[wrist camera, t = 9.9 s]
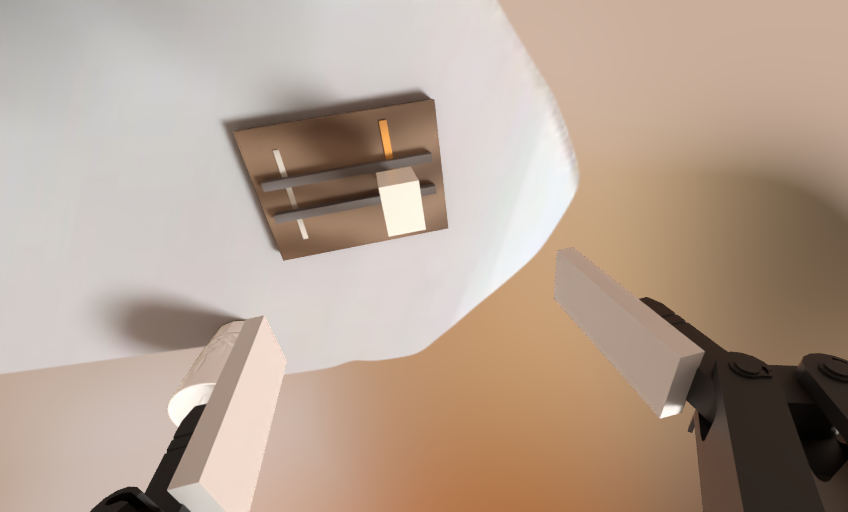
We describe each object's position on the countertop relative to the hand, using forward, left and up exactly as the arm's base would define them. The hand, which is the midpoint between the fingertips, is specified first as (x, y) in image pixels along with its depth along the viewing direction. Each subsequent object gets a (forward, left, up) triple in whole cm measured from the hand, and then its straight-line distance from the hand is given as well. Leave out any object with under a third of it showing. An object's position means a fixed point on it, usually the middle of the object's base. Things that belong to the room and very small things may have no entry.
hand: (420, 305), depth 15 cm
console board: (0, -3, -22) cm, 23 cm away
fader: (0, +1, -20) cm, 20 cm away
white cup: (+17, -21, -23) cm, 35 cm away
